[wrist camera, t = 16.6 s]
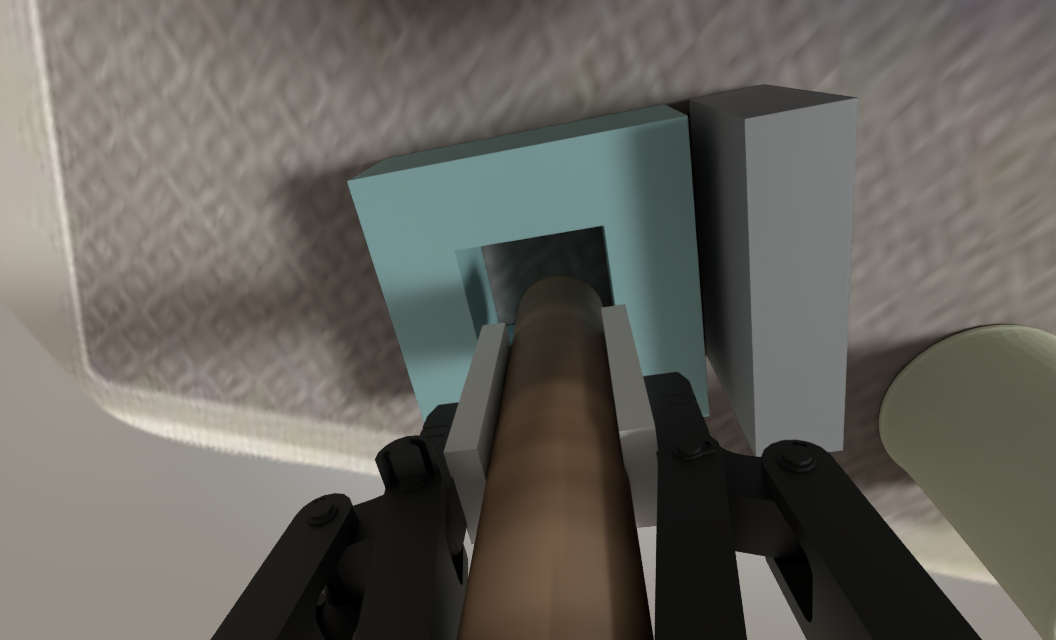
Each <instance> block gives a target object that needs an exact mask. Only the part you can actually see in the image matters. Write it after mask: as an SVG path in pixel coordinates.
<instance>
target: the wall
mask: <svg viewBox="0 0 1056 640" xmlns="http://www.w3.org/2000/svg"><path fill="white" fill-rule="evenodd" d="M689 107H690V121H691V135H692V149H693V164H694V178H695V192H696V206H697V220H698V234H699V248H700V262H701V276H702V290H703V304H704V318H705V332H706V346H707V356H708V358H709V360H710V363H711V365H712V367H713V369H714V371H715V373H716V375H717V377H718V380H719V382H720V384H721V386H722V388H723V390H724V392H725V394H726V397H727V399H728V401H729V403H730V405H731V407H732V409H733V411H734V414H735V416H736V418H737V420H738V422H739V424H740V426H741V428H742V431H743V433H744V435H745V437H746V439H747V441H748V443H749V445H750V448H751V450H752V452H753V454H754V456H757V457H761V456H762V453H763V450H764V449H765V448H766V447H768V446H769V445H770V444H771V443H775V442H778V441H781V440H794V439H796V440H802V441H807V442H811V443H813V444H816V445H818V446H820V447H822V448H823V449H824V450H826V451H827V452H833V451H842V450H843V437H844V414H845V390H846V367H847V344H848V320H849V297H850V273H851V250H852V227H853V203H854V180H855V156H856V133H857V110H858V98H857V97H850V96H843V95H836V94H829V93H822V92H815V91H808V90H801V89H794V88H787V87H780V86H773V85H766V84H765V85H759V86H754V87H749V88H744V89H739V90H734V91H729V92H724V93H718V94H713V95H708V96H703V97H698V98H693V99H689Z"/></svg>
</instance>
